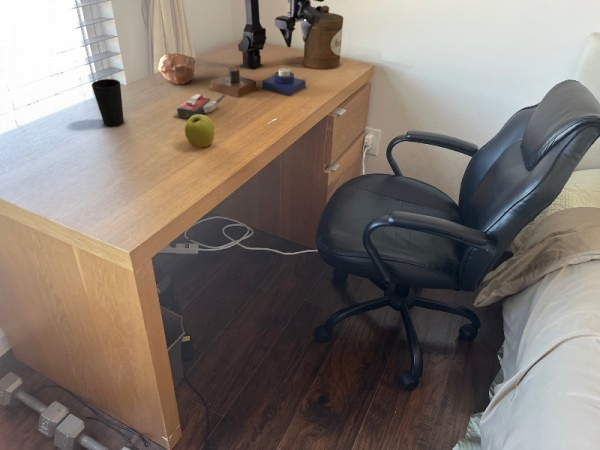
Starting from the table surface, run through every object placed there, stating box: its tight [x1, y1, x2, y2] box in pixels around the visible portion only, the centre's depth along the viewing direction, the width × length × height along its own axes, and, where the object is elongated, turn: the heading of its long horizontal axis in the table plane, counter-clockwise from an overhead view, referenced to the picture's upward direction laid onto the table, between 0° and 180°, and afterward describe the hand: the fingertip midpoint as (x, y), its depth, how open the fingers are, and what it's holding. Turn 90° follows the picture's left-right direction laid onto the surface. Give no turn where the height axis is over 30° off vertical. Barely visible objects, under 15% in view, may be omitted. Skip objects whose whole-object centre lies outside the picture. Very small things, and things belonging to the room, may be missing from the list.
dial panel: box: [211, 74, 257, 98], centre depth 167 cm, size 12×10×3 cm
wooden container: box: [303, 5, 344, 70], centre depth 189 cm, size 15×15×22 cm
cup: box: [91, 78, 125, 128], centre depth 139 cm, size 8×8×12 cm
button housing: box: [261, 71, 307, 97], centre depth 170 cm, size 12×10×5 cm
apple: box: [184, 114, 215, 148], centre depth 130 cm, size 8×8×10 cm
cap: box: [278, 67, 291, 77], centre depth 168 cm, size 4×4×2 cm
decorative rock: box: [157, 52, 196, 85], centre depth 170 cm, size 13×11×10 cm
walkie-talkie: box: [176, 93, 226, 120], centre depth 152 cm, size 9×4×20 cm
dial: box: [227, 67, 241, 83], centre depth 165 cm, size 4×4×4 cm
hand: (297, 44), depth 168 cm, fingers open, 9 cm apart
